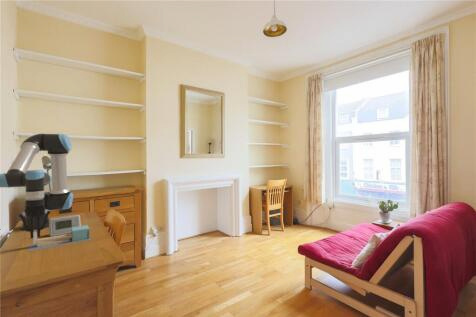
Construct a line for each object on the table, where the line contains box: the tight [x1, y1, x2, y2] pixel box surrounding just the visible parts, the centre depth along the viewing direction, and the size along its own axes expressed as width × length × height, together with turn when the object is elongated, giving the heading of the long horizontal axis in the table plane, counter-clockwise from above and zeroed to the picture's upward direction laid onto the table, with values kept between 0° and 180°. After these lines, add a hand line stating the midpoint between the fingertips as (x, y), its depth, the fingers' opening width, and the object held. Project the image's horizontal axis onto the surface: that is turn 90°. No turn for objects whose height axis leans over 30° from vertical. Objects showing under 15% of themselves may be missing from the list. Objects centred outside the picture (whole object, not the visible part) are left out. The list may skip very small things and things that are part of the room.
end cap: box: [70, 224, 90, 242], centre depth 137 cm, size 9×8×6 cm
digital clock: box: [48, 214, 82, 237], centre depth 147 cm, size 16×9×11 cm, turn 122°
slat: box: [37, 233, 71, 247], centre depth 129 cm, size 4×14×3 cm, turn 129°
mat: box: [27, 236, 92, 252], centre depth 131 cm, size 12×27×1 cm, turn 129°
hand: (35, 243), depth 124 cm, fingers closed
